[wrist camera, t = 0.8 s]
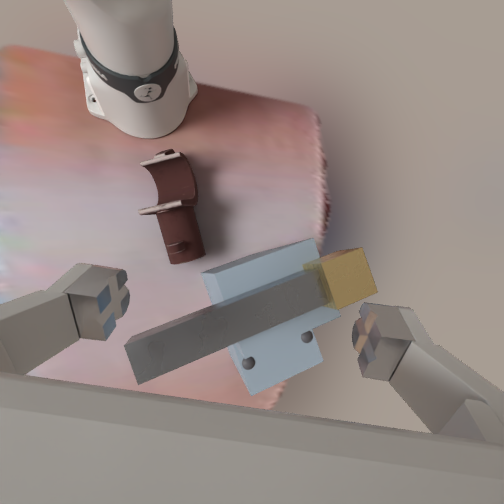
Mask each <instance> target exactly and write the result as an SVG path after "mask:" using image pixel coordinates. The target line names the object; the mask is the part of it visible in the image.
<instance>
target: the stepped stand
mask: <svg viewBox="0 0 504 504" xmlns="http://www.w3.org/2000/svg"><path fill="white" fill-rule="evenodd" d="M318 258H320V256H319V253H318V250H317V247H316V244H315V241H314V238H311V239H307V240H304V241H300V242H296V243H293V244H289V245H285V246H282V247H278V248H274V249H270V250H267V251H263V252H259V253H256V254H252V255H249V256H247V257H244V258H241V259H238V260H236V261H233V262H230V263H227V264H224V265H222V266H219V267H216V268H213V269H210V270H208V271H205V272H202V273H201V274H202V277H203V280H204V283H205V285H206V288H207V291H208V294H209V297H210V299H211V302H212V305H214V304H217V303H219V302H222V301H224V300H227V299H229V298H232V297H235V296H237V295H240V294H242V293H245V292H247V291H250V290H253V289H255V288H258V287H260V286H263V285H265V284H268V283H271V282H273V281H276V280H278V279H281V278H283V277H286V276H289V275H291V274H294V273H296V272H299V271H301V270H304V269H303V266H302V264H305V263H307V262H310V261H313V260H315V259H318ZM340 316H341V315H340V313H339V310H336V309H332V308H328V307H324V306H321V307H319V308H316V309H314V310H312V311H309V312H307V313H305V314H302V315H300V316H298V317H295V318H293V319H291V320H288V321H286V322H284V323H281V324H279V325H277V326H274V327H272V328H270V329H267V330H265V331H263V332H260V333H258V334H256V335H253V336H251V337H249V338H246V339H244V340H242V341H240V342H237V343H235V344H233V345H230V346H228V350H229V353H230V356H231V358H232V360H233V361H234V363H235V365H236V367H237V369H238V371H239V373H240V375H241V377H242V379H243V381H244V383H245V385H246V387H247V389H248V391H249V393H250V395H251V396H252V395H254V394H257V393H259V392H261V391H263V390H265V389H267V388H269V387H271V386H273V385H275V384H277V383H279V382H282V381H284V380H286V379H288V378H290V377H292V376H294V375H296V374H298V373H300V372H302V371H304V370H306V369H309V368H310V367H313V366H315V365H317V364H319V363H321V362H323V358H322V356H321V353H320V350H319V347H318V344H317V341H316V339H315V336H314V333H313V330H312V329H314V328H316V327H318V326H320V325H323V324H325V323H327V322H329V321H332V320H334V319H336V318H338V317H340Z"/></svg>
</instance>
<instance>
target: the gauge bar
mask: <svg viewBox="0 0 504 504" xmlns="http://www.w3.org/2000/svg"><path fill="white" fill-rule="evenodd" d="M302 266H303V269H304V270H301V271H299V272H296V273H294V274H291V275H289V276H286V277H283V278H281V279H278V280H276V281H273V282H271V283H268V284H265V285H263V286H260V287H258V288H255V289H253V290H250V291H247V292H245V293H242V294H240V295H237V296H235V297H232V298H229V299H227V300H224V301H222V302H219V303H217V304H214V305H211V306H209V307H206V308H204V309H201V310H199V311H196V312H193V313H191V314H188V315H186V316H183V317H181V318H178V319H175V320H173V321H170V322H168V323H165V324H163V325H160V326H157V327H155V328H152V329H150V330H147V331H145V332H142V333H139V334H137V335H134V336H132V337H131V338H130V339H129V340H128V342H127V343H126V344H125V345H124V347H125V350H126V352H127V355H128V358H129V361H130V363H131V366H132V369H133V372H134V375H135V377H136V380H137V383H138V385H139V384H142V383H144V382H146V381H149V380H151V379H153V378H156V377H158V376H160V375H163V374H165V373H167V372H170V371H172V370H174V369H177V368H179V367H181V366H184V365H186V364H188V363H191V362H193V361H195V360H198V359H200V358H202V357H205V356H207V355H209V354H212V353H214V352H216V351H219V350H221V349H223V348H226V347H228V346H230V345H233V344H235V343H237V342H240V341H242V340H244V339H246V338H249V337H251V336H253V335H256V334H258V333H260V332H263V331H265V330H267V329H270V328H272V327H274V326H277V325H279V324H281V323H284V322H286V321H288V320H291V319H293V318H295V317H298V316H300V315H302V314H305V313H307V312H309V311H312V310H314V309H316V308H319V307H321V306H324V307H328V308H332V309H336V310H339V309H341V308H343V307H345V306H348V305H350V304H352V303H355V302H357V301H359V300H361V299H363V298H366V297H368V296H370V295H372V294H375V293H377V292H378V291H377V288H376V286H375V282H374V280H373V277H372V274H371V271H370V268H369V265H368V262H367V260H366V257H365V254H364V251H363V248H362V247H361V248H355V249H348V250H340V251H336V252H334V253H331V254H328V255H326V256H323V257H320V258H318V259H315V260H313V261H310V262H307V263H305V264H302Z"/></svg>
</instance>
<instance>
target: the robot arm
mask: <svg viewBox="0 0 504 504" xmlns="http://www.w3.org/2000/svg"><path fill="white" fill-rule="evenodd" d="M64 2H65V4H66V6H67V8H68V9H69V11H70V13H71V15H72V17H73V19H74V21H75V23H76V25H77V27H78V29H77V31H78V40H75V41H74V47H75V50H76V53H77V55H78V57H79V58H81V63H80V65H81V69H82V71H83V78H84V86H85V93H86V100H87V107H88V110H89V112H90V113H91V114H92V115H94V116H96V117H98V118H101V119H105V120H108V121H109V122H111V123H112V124H114V125H115V126H116V127H117V128H119V129H120V130H122V131H123V132H125V133H127V134H129V135H132V136H135V137H140V138H157V137H161V136H164V135H167V134H169V133H171V132H172V131H173V130H175V129H176V128H177V127H178V126H179V125H180V124H181V122H182V121H183V119H184V117H185V114H186V111H187V107H188V105H189V103H190V102H191V101H192V99H193V98H194V97H195V96H196V94H197V92H198V89H197V85H196V83H195V81H194V79H193V78H192V76H191V74H190V72H189V71H188V63H187V61H186V60H184V58H183V56H182V54H181V53H180V51H179V45H178V41H177V35H176V31H175V28H174V26H173V11H172V0H64ZM93 100H96V102H93ZM127 280H128V279H127V273H126V271H125V270H123V269H118V268H112V267H105V266H99V265H92V264H85V263H79V264H76V265H75V266H74V267H73V268H71V269H70V270H69V271H68V272H67V273H66V274H64V275H63V276H62V277H61V278H60V279H59V280H57V281H56V282H55V283H54V284H53V285H52V286H51V287H49V288H48V289H47V290H46V291H44V290H40V291H37V292H34V293H31V294H28V295H26V296H23V297H20V298H17V299H14V300H12V301H9V302H6V303H3V304H0V504H504V392H503V391H502V390H500V389H499V388H498V387H496V386H495V385H493V384H492V383H491V382H489V381H488V380H487V379H485V378H484V377H482V376H481V375H480V374H478V373H477V372H476V371H474V370H473V369H471V368H470V367H468V366H467V365H466V364H464V363H463V362H462V361H460V360H459V359H457V358H456V357H454V355H452V354H451V353H449V352H448V351H447V350H445V349H444V348H442V347H441V346H440V345H435V344H434V343H433V342H432V340H431V338H430V337H429V335H428V334H427V332H426V330H425V328H424V327H423V325H422V324H421V322H420V320H419V319H418V317H417V315H416V314H415V312H414V311H413V309H411V308H409V307H399V306H387V305H380V304H372V303H365V302H364V304H362V306H361V308H360V311H359V312H360V315H361V318H359V319H358V320H357V321H355V324H354V326H353V332H352V342H353V346H354V349H355V350H356V351H357V352H358V353H359V354H360V355H359V357H358V363H359V367H360V370H361V373H362V377H365V378H371V379H377V380H383V381H389V383H390V385H391V386H392V387H393V388H394V389H395V390H396V392H397V393H398V394H399V395H400V396H401V397H402V398H403V400H404V401H405V402H406V403H407V404H408V406H409V407H411V409H412V410H413V411H414V413H415V414H416V415H417V416H418V417H419V418H420V419H421V421H422V422H423V423H424V424H425V425H426V426H427V428H428V429H429V430H430V431H431V432H432V433H433V434H432V433H425V432H418V431H411V430H404V429H397V428H390V427H383V426H376V425H369V424H362V423H355V422H348V421H341V420H334V419H327V418H320V417H313V416H306V415H300V414H292V413H285V412H278V411H272V410H265V409H258V408H251V407H244V406H237V405H230V404H223V403H216V402H209V401H202V400H195V399H188V398H181V397H174V396H167V395H160V394H153V393H146V392H139V391H132V390H125V389H118V388H111V387H104V386H97V385H90V384H83V383H76V382H69V381H62V380H55V379H48V378H41V377H34V376H27V375H25V374H26V373H28V372H29V371H31V370H33V369H34V368H36V367H37V366H39V365H40V364H42V363H44V362H45V361H47V360H48V359H50V358H51V357H53V356H55V355H56V354H58V353H59V352H61V351H62V350H64V349H65V348H67V347H69V346H70V345H72V344H73V343H75V342H76V341H78V340H79V338H83V339H92V340H101V341H106V340H107V339H108V337H109V336H110V334H111V333H112V331H113V330H114V328H115V327H116V322H115V320H117V319H119V318H121V317H123V315H124V314H125V312H126V311H127V308H128V305H129V299H130V294H129V290H128V288H127V287H126V286H125V285H124V284H125V283H126V281H127Z"/></svg>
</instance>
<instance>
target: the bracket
mask: <svg viewBox="0 0 504 504" xmlns="http://www.w3.org/2000/svg"><path fill="white" fill-rule="evenodd" d="M140 164H141V166H143V167H145V168H146V169H147V170H148V171H149V172H150V173H151V175H152V177H153V178H154V181H155V183H156V186H157V190H158V204H157V206H153V207H148V208H144V209H140V210H138V212H139V214H140V215H151V214H156V215H157V219H158V222H159V225H160V229H161V232H162V236H163V239H164V243H165V246H166V249H167V253H168V256H169V260H170V263H171V264H181V263H186V262H190V261H193V260H196V259H199V258H201V257H203V256H205V255H206V254H205V250H204V246H203V242H202V239H201V235H200V231H199V227H198V224H197V220H196V216H195V212H194V209H193V206H194V205H196V204H197V201H198V190H197V184H196V180H195V176H194V173H193V170H192V168H191V166H190V163H189V161H188V160H187V158H186V157H185V155H184V154H183V153H181V152H178V153H175V152H174V150H173V149H169V150H165V151H162V152H160V153H158V154H156V155H154V159H151V160H147V161H144V162H140Z"/></svg>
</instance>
